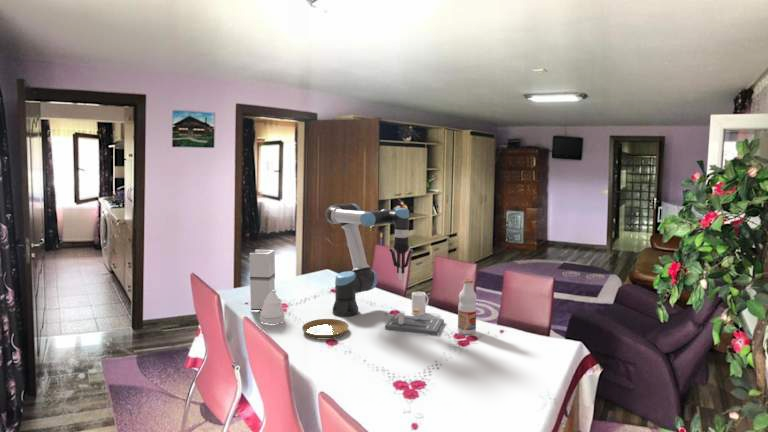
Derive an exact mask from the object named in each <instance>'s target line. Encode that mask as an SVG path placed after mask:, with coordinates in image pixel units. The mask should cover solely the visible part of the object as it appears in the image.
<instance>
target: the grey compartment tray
mask: <svg viewBox="0 0 768 432" xmlns="http://www.w3.org/2000/svg"><path fill="white" fill-rule="evenodd" d="M444 320H445V319H443V318H434V317H426V316H424V317H423V316H419V319H418V320H416V319H414V315H407V314H405V315H404V323H403V324H398V314H393V316H392V317H391V318H390V319H389V321H388V322H387V323H386V324H385V325H384V330H386V331H387V330H388V331H395V332H396V331H397V332H403V333H404V332H406V333H414V334H422V335H430V336H431V335H432V336H433V335H434V336H438V334H439V332H440V330H441V328H442V327H443V325H444V323H445V321H444Z"/></svg>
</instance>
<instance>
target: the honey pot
mask: <svg viewBox="0 0 768 432" xmlns="http://www.w3.org/2000/svg"><path fill="white" fill-rule="evenodd" d="M276 293H277V289H275V290H272V292H270V293H269V294H268V295H267V297H266V299H265V300H264V301H263V302H264V304H263V306H262V311H261V313H260V323H261V322H263V323H268V324H277V323H281V322H283V321H284V322H285V311H284V308H283V304H282V302H283V301H282V299H281V298H279V296H278V294H276ZM284 322H283V323H284ZM281 324H282V323H281ZM277 325H278V324H277Z"/></svg>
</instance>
